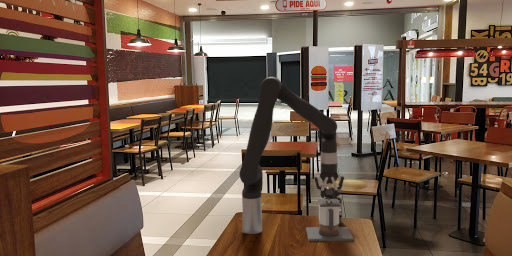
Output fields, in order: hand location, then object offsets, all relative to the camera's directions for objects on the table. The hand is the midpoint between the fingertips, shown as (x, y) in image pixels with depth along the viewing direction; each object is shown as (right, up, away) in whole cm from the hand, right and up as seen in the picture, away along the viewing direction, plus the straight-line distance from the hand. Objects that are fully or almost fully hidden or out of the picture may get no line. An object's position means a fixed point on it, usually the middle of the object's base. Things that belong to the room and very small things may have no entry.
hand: (328, 197), depth 187 cm
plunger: (0, -10, +1) cm, 10 cm away
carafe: (0, -17, +1) cm, 17 cm away
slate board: (0, -18, +2) cm, 18 cm away
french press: (+5, -16, +19) cm, 25 cm away
